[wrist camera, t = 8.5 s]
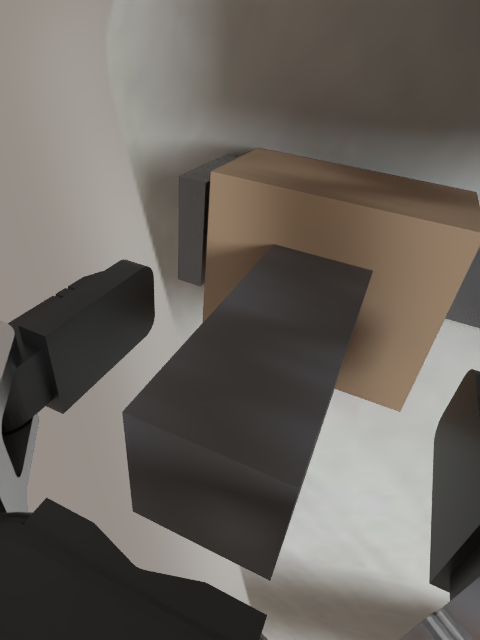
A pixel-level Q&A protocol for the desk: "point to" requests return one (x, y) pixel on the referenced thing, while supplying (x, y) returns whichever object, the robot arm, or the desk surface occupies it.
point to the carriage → (291, 339)
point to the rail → (194, 190)
